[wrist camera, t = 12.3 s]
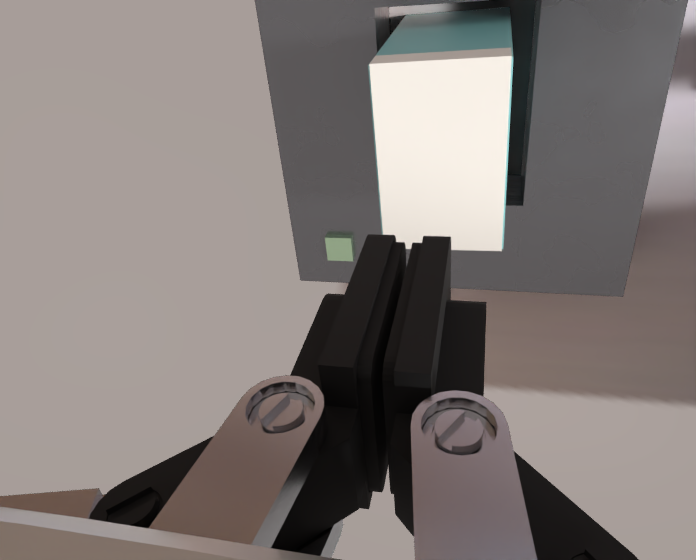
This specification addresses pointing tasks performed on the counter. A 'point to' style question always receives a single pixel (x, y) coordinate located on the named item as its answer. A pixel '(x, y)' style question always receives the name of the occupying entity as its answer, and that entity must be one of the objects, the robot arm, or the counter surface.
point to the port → (538, 151)
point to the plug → (444, 127)
